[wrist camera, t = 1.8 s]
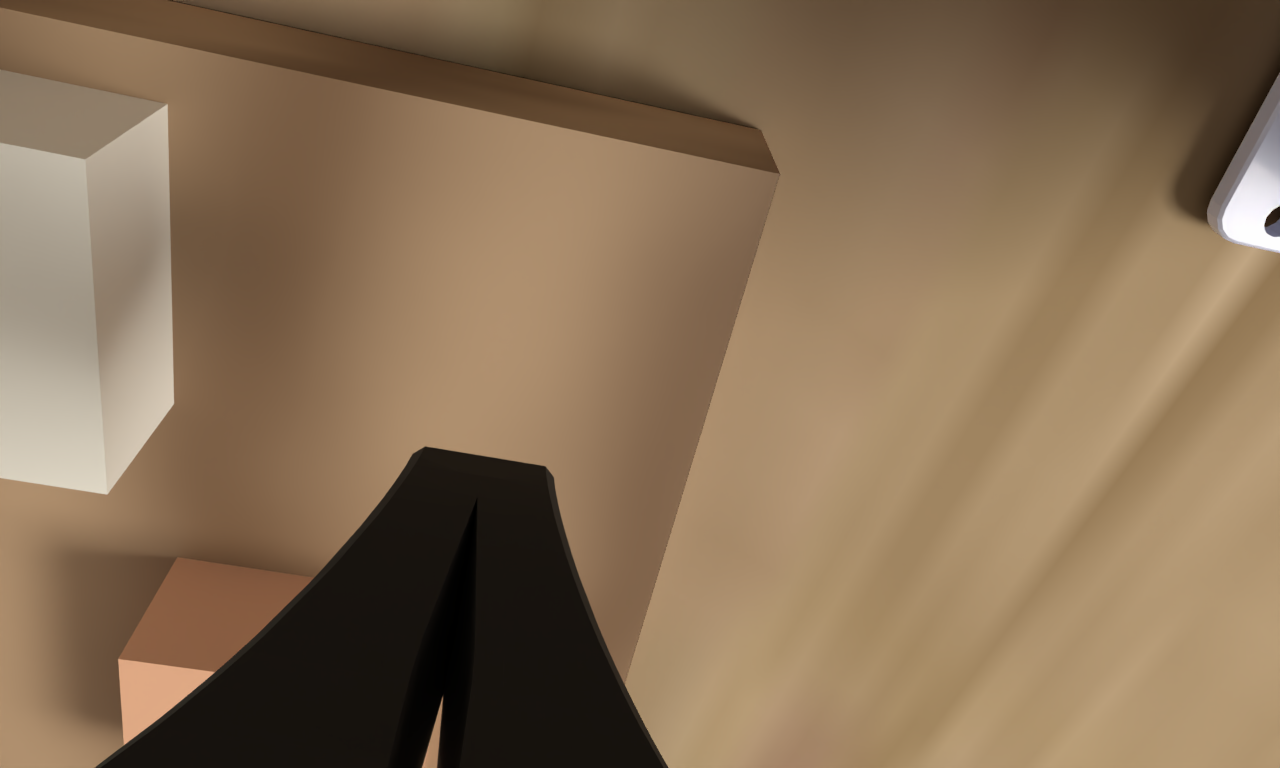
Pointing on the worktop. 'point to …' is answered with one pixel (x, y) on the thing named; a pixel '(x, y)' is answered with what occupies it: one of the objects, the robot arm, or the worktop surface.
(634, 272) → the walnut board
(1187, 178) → the worktop surface
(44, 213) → the cream tile
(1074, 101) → the worktop surface
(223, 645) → the terracotta tile
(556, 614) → the robot arm
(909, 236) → the worktop surface
